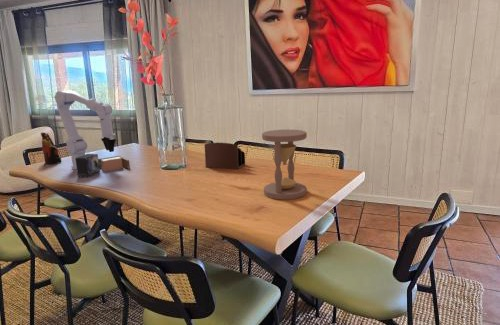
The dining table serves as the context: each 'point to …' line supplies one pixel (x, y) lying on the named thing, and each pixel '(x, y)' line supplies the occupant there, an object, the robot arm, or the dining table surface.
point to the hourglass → (283, 152)
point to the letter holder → (224, 156)
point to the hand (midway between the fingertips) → (110, 150)
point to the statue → (49, 150)
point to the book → (111, 163)
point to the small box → (87, 165)
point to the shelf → (124, 161)
